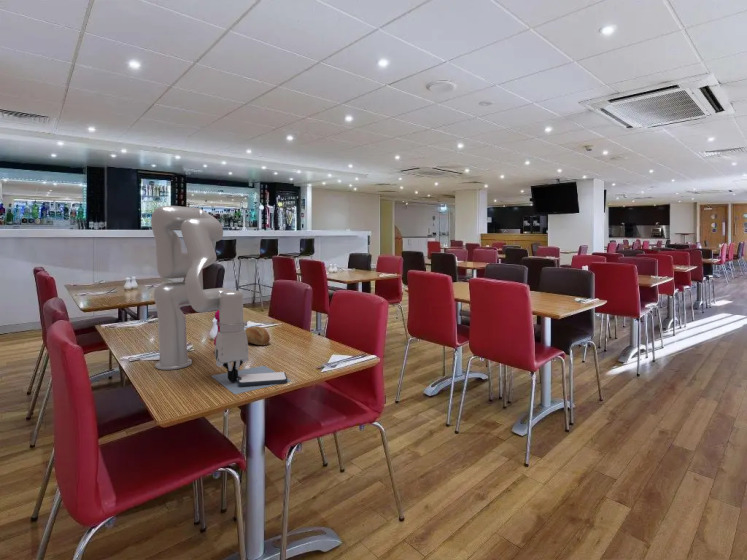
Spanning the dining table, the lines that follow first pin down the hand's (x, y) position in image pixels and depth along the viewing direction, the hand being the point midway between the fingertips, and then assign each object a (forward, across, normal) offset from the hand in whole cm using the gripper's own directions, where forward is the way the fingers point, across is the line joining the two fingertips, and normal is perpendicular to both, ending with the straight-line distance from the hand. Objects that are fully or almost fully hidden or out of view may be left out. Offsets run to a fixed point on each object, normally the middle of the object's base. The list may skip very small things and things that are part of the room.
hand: (232, 380), depth 143 cm
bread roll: (+1, -27, -44) cm, 52 cm away
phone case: (+1, -8, +5) cm, 10 cm away
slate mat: (0, -6, 0) cm, 6 cm away
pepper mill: (+1, -10, -38) cm, 39 cm away
